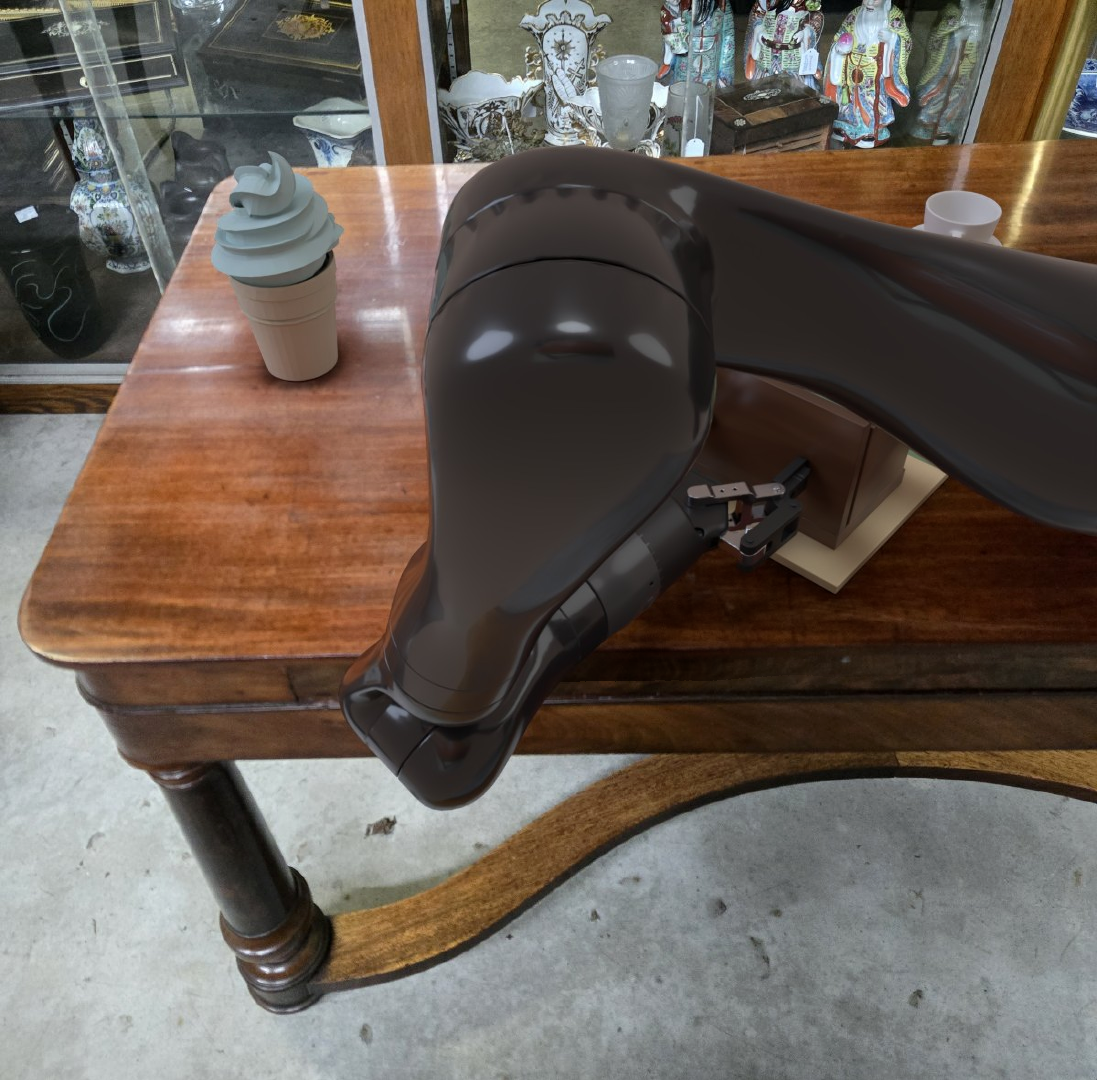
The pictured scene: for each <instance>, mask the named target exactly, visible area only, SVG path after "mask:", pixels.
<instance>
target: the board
mask: <svg viewBox="0 0 1097 1080" xmlns="http://www.w3.org/2000/svg"><path fill="white" fill-rule="evenodd" d="M809 392H810V391H809ZM811 393H813V392H811ZM813 394H815V393H813ZM816 395H818V394H816ZM818 396H820V395H818ZM820 397H822V396H820ZM822 398H824V399H827V398H825V397H822ZM827 400H829V399H827ZM829 401H831V400H829ZM831 402H833V401H831ZM833 403H835V402H833ZM835 404H837V403H835ZM837 405H839V404H837ZM840 406H841V405H840ZM842 407H843V406H842ZM844 408H845V407H844ZM904 468H905V473H904V476H903V480H902V483H901V484H900V485H899V486H898V487H897V488H896V489H895V490H894V491H893V492H892V493H891V494H890V495H889V496H888V497H887V498H886V499H885V500H884V501H883V502H882V503H881V504H880V505H879V506H878V507H877V508H876V509H875V510H874V511H873V512H872V513H871V514H870V515H869V516H868V517H867V518H866V519H865V520H864V521H863V522H862V523H861V524H860V525H859V526H858V527H857V528H856V529H855V530H854V531H853V532H852V533H851V534H850V535H849V536H848V537H847V538H846V539H845V540H844V541H843V542H842V543H841V544H840V545H839V546H838V547H837V548H836V549H835V550H833V549H831V548H829V547H827V546H825V545H823V544H821V543H819V542H818V541H816V540H814V539H812V538H810V537H808V536H806V535H805V534H803V533H801V532H799V531H798V532H797V534H796V535H795V536H794V537H793V538H792V539H791V540H789V541H788V542H787V543H786V544H785V545H783V546H782V547H781V548H780V549H779V550H777V551H776V552H775V553H774V554H773V555H772V556H770V557H769V559H772V560H774V562H777V563H779V564H780V565H782V566H784V567H785V568H788V569H789V570H791V571H793V572H795V573H797V574H798V575H800V576H802V577H804V578H805V579H807V580H809V581H810V582H812V583H814V584H816V585H818V586H820V587H821V588H823V589H825V590H827V591H829V593H830V592H831V593H832V594H834V595H837V593H838V592H839V591H840V590H841V589H843V587H844V586H846V584H847V583H848V582H849V581H850V580H851V579H852V578H853V577H854V575H855V574H857V573H858V571H860V569H862V567H863V566H864V565H865V564H866V563H867V562H868V561H869V560H870V559H871V558H872V557H873V556H874V555H875V554H876V553H877V552H878V551H879V549H881V547H883V545H885V544H886V542H887V541H888V540H889V539H890V538H891V537H892V536H893V535H894V534H895V533H896V532H897V531H898V530H899V529H900V528H901V527H902V526H903V524H905V522H907V521H908V519H910V517H911V516H913V514H914V513H916V511H917V510H918V509H919V508H920V507H921V506H922V505H923V504H924V503H925V502H926V501H927V500H928V499H929V498H930V497H931V496H932V494H934V493H935V492H936V490H938V489H939V487H941V485H943V484H944V482H945V481H946V480H947V479H948V478H950V476H948V475H947V474H945V473H944V472H942V471H941V470H939V469H938V468H936V467H935V466H933V465H932V464H930V463H929V462H927V461H926V460H924V459H923V458H921V457H920V456H919V455H917V454H916V453H914V452H913V451H911V450H910V449H909V451H908V454H907V458H906V461H905V465H904ZM735 507H736V501H730V502H728V514H731V513H732V512H733V511H734V510H735ZM758 523H760V522H758ZM758 523H753V524H751V526H753V527H755V526H756V525H757V524H758ZM739 531H741V530H738V531H731V532H739Z"/></svg>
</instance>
